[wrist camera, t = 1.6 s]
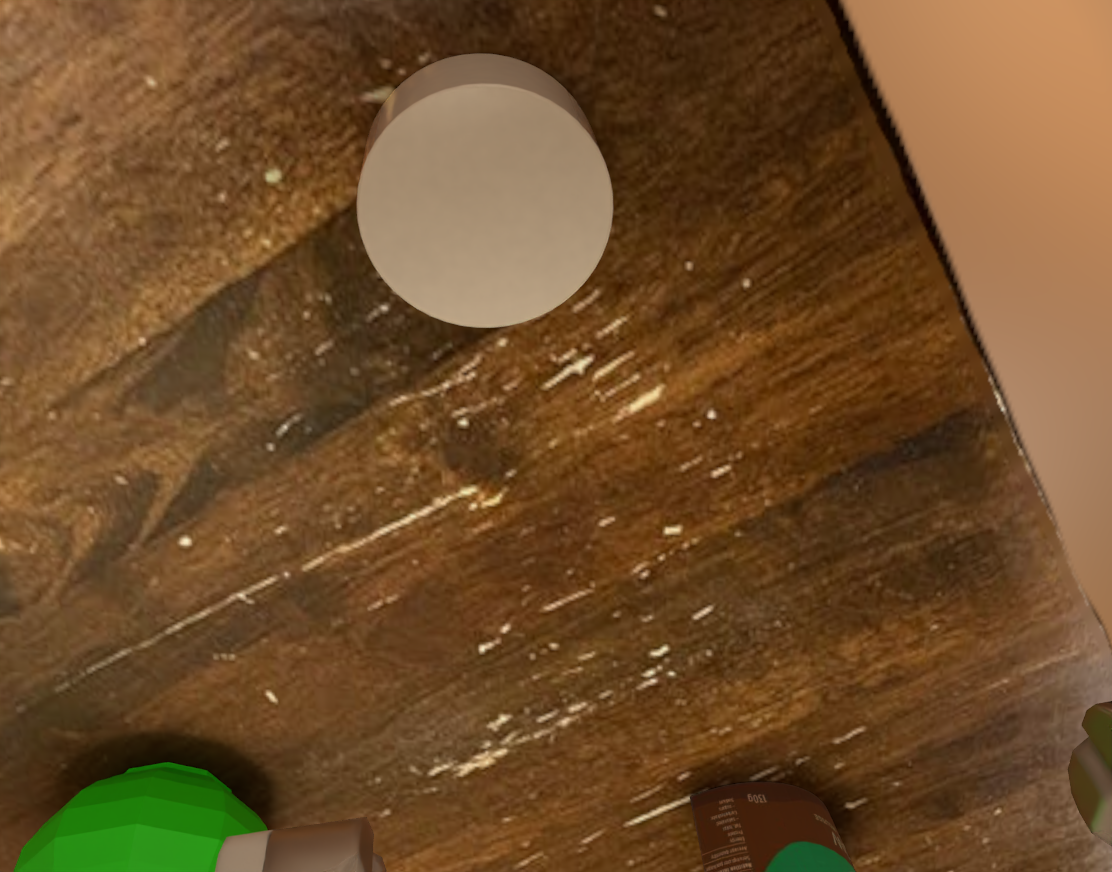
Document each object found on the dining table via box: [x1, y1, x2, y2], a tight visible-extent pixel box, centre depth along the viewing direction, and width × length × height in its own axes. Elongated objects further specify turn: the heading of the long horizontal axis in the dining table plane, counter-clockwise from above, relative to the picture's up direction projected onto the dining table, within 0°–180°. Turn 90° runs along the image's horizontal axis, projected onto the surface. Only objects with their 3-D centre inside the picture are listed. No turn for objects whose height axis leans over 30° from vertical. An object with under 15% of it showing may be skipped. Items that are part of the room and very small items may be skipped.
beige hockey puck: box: [356, 53, 613, 328], centre depth 26 cm, size 7×7×3 cm
